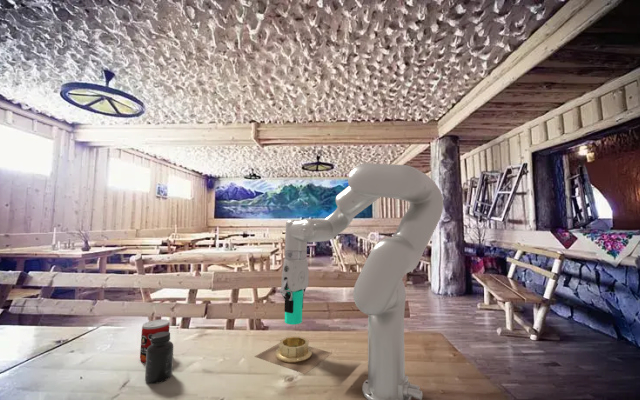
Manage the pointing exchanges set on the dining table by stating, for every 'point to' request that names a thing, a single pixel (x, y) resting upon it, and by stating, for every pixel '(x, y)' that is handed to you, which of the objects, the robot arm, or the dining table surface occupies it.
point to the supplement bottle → (159, 358)
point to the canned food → (148, 331)
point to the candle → (295, 309)
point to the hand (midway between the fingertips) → (293, 309)
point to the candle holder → (293, 350)
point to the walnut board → (299, 367)
